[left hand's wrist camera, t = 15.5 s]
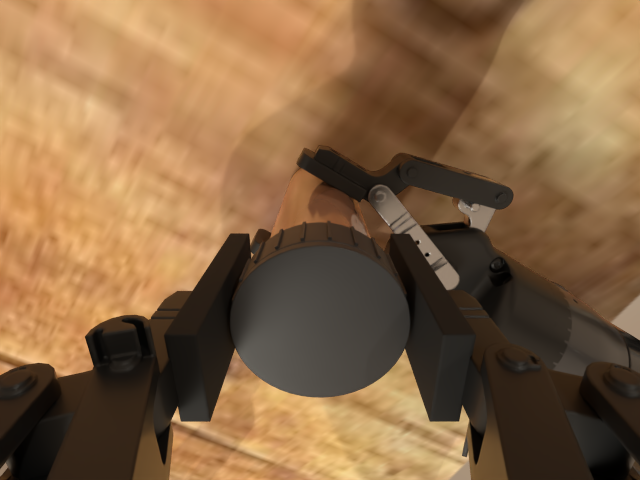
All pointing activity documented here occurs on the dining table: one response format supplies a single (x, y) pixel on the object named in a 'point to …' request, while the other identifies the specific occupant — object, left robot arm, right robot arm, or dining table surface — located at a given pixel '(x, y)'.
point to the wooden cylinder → (317, 205)
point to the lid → (320, 311)
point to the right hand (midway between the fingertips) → (277, 200)
